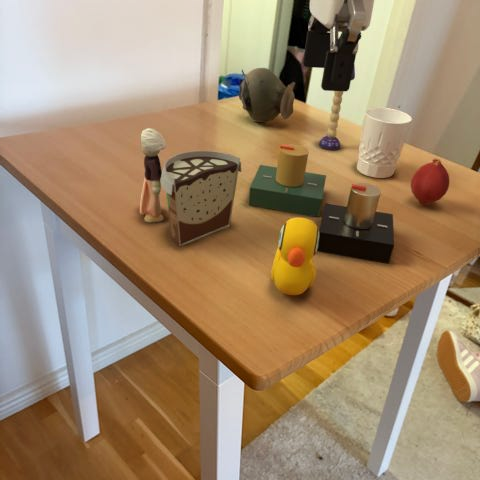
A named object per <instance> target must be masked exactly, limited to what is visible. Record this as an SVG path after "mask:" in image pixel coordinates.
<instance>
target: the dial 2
mask: <svg viewBox="0 0 480 480" xmlns="http://www.w3.org/2000/svg"><path fill="white" fill-rule="evenodd" d="M381 194H382V190H381V189H380V188H379V187H378V186H376V185H374V184H371V183H366V182H357V183H351V187H350V191H349V195H348V200H347V204H346V207H347V208H346V212H345V217H344V222H345V223H346V224H347V225H348V226H350V227H352V228H356V229H368V228H370V227H371V226H372V224H373V220H374V217H375V213H376V211H377V209H378V207H379V202H380V199H381V198H380V197H381Z"/></svg>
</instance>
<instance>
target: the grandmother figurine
mask: <svg viewBox="0 0 480 480" xmlns="http://www.w3.org/2000/svg"><path fill="white" fill-rule="evenodd" d="M162 135H163V134H161V133H160V132H158V131H157V130H156V129H154V128H152V127H151V128H150V127H148V128H145V129H142V132H141V134H140V141H141V144H140V149H141V152H142V154H144V155H145V156H144V158H143V167H144V178H143V183H142V188H141V195H140V199H139V203H140V204H139V214H140V215H144V217H143V220H144V221H145V222H146V223H150V224H151V223H159V222H163V221H164V218H165V217H164V216H163V214H162V212H163V211H162V207H161V199H160V195H161V193H160V192H161V191H162V190H161V189H162V186H161V183H160V180H161V175H162V170H163V169H162V165H161V160H160V157H159V154H160V152H161V151H162V150H164V149H166V147H167V142H166V140H165V139H164V137H163V136H162Z"/></svg>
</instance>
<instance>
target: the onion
mask: <svg viewBox="0 0 480 480" xmlns="http://www.w3.org/2000/svg"><path fill="white" fill-rule="evenodd" d="M449 187H450V175H449V173H448V171H447V169H446V168H445V166H444V165H443V164H442V161H441V159H440V158H438V157H436V158H433V159H432V161H430V162H428V163H425V164H423V165H421V166H420V167H419V168H418V169H417V170H416V171H415V172H414V174H413V175H412V177H411V180H410V190H411V193H412V195H413V196H414V198H415V199H416V200H417V201H418V203H419V205H421V206H427V205H431V204H434V203H436V202H438V201H440V200H441V199H442V198H444V197H445V195H446V194H447V192H448V190H449Z"/></svg>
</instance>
